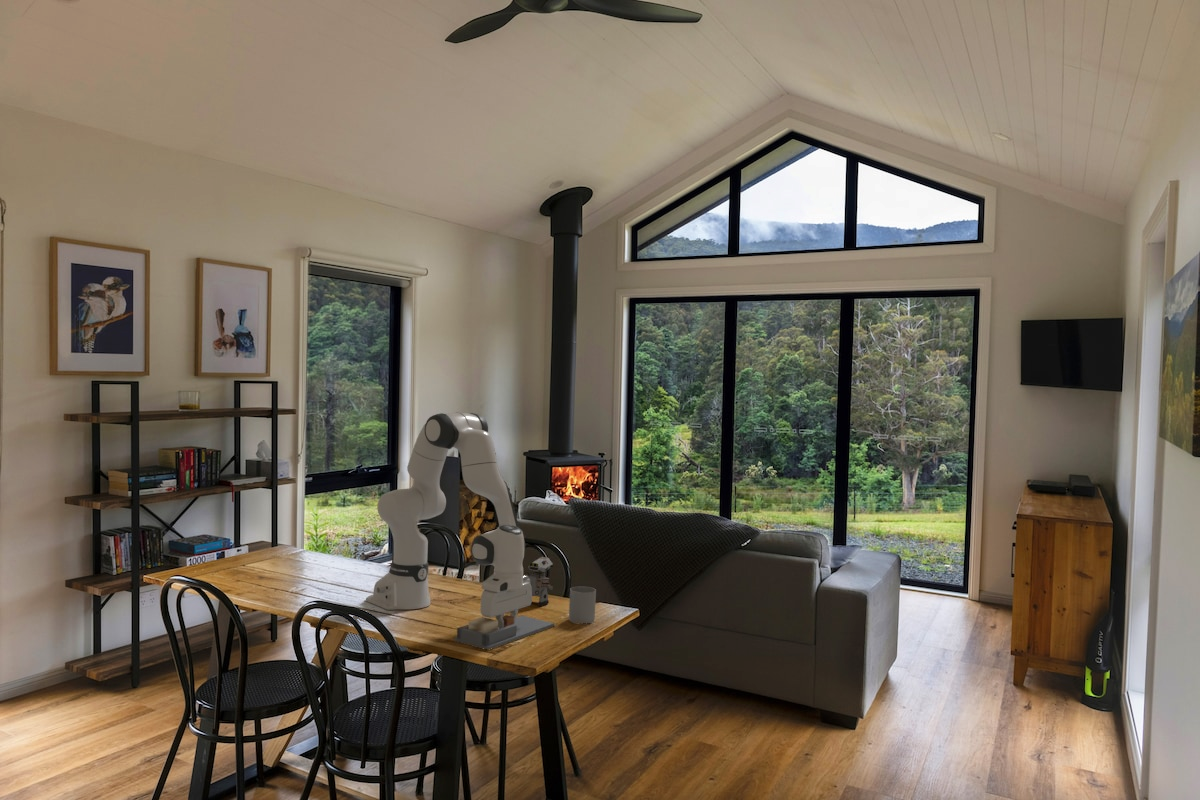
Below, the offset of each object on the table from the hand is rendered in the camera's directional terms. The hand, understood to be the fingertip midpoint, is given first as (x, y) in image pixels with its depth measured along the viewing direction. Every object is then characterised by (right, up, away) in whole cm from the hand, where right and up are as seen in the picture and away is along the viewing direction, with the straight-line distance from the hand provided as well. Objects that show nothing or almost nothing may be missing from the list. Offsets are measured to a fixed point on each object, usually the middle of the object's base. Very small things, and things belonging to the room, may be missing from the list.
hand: (506, 625), depth 246 cm
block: (-3, -1, -5) cm, 6 cm away
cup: (+22, -3, +18) cm, 29 cm away
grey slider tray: (0, -2, 0) cm, 2 cm away
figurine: (+7, -2, +37) cm, 38 cm away
